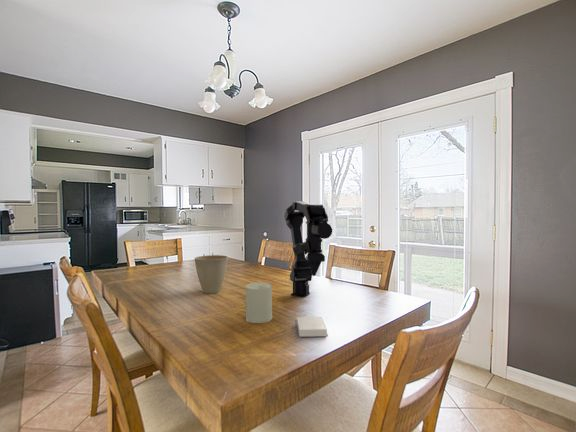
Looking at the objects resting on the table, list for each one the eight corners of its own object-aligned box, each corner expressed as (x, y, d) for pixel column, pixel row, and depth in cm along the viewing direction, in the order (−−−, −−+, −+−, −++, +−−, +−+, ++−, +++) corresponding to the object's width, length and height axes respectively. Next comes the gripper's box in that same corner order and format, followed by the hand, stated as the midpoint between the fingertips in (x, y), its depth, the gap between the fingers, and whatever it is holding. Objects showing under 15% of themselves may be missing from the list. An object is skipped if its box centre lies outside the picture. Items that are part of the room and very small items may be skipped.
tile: (297, 317, 94) (299, 329, 84) (321, 316, 94) (326, 329, 84) (297, 324, 94) (299, 337, 84) (321, 323, 94) (326, 337, 84)
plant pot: (234, 290, 136) (234, 256, 136) (210, 298, 124) (210, 260, 124) (212, 285, 144) (212, 253, 144) (187, 293, 132) (187, 258, 132)
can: (251, 326, 94) (250, 289, 93) (241, 317, 102) (241, 282, 102) (276, 321, 98) (276, 285, 98) (266, 312, 106) (266, 280, 106)
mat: (294, 321, 98) (294, 320, 98) (321, 320, 98) (321, 319, 98) (297, 338, 85) (297, 336, 85) (328, 337, 85) (328, 336, 85)
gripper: (292, 233, 123) (292, 270, 123) (294, 238, 104) (294, 281, 105) (319, 233, 123) (318, 270, 123) (325, 238, 104) (324, 281, 105)
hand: (313, 275), depth 114 cm, fingers closed
